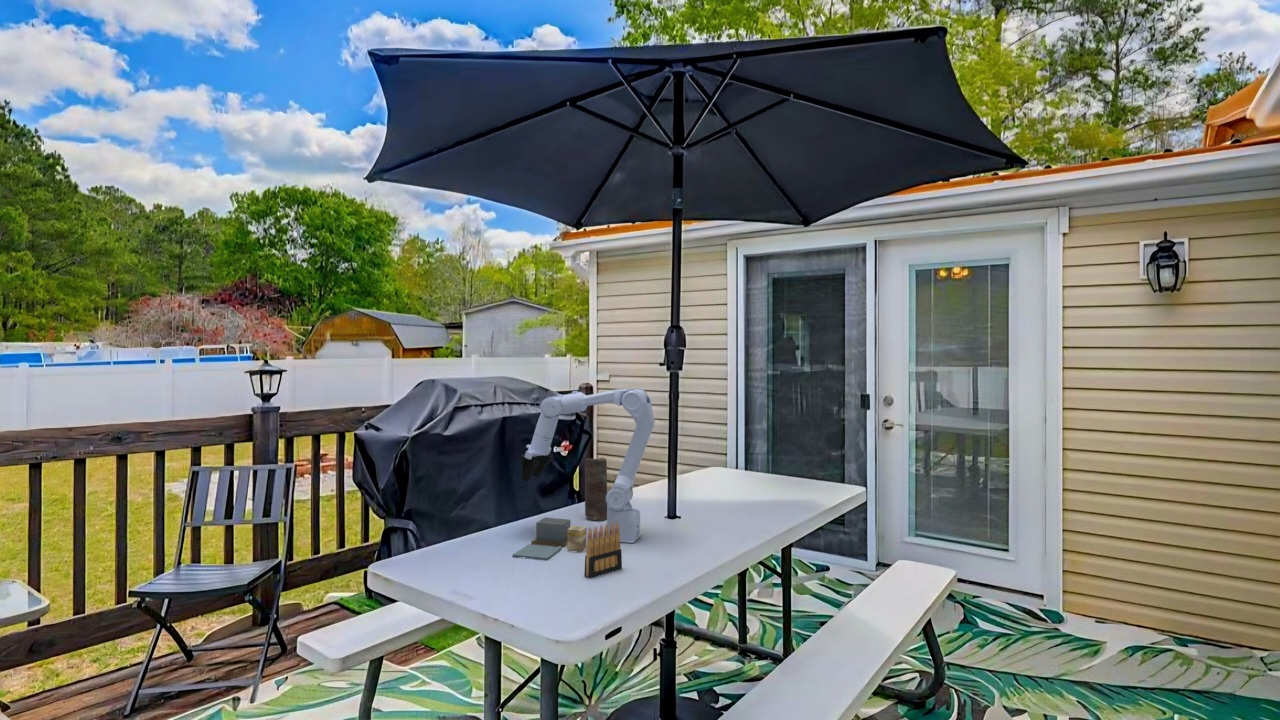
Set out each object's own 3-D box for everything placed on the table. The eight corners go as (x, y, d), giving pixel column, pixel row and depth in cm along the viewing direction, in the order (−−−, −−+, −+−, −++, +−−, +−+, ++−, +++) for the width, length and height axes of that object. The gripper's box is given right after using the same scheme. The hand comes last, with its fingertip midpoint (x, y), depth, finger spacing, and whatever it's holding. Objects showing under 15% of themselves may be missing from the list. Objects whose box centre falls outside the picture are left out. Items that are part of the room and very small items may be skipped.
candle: (580, 520, 218) (581, 458, 218) (589, 515, 225) (589, 455, 225) (603, 522, 216) (603, 459, 215) (610, 516, 223) (611, 456, 222)
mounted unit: (574, 539, 196) (574, 519, 196) (564, 547, 188) (564, 526, 188) (542, 536, 198) (542, 516, 198) (531, 544, 191) (531, 523, 190)
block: (586, 548, 187) (586, 526, 187) (581, 552, 183) (581, 530, 183) (572, 547, 188) (572, 525, 188) (567, 551, 184) (567, 529, 184)
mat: (561, 549, 186) (561, 547, 186) (547, 560, 176) (547, 558, 176) (528, 546, 189) (528, 544, 189) (512, 556, 179) (512, 554, 179)
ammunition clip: (588, 578, 163) (589, 529, 163) (584, 576, 164) (584, 527, 164) (622, 569, 170) (622, 521, 170) (617, 567, 171) (617, 520, 171)
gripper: (541, 428, 209) (528, 469, 210) (521, 433, 195) (507, 477, 196) (561, 436, 207) (548, 477, 208) (542, 441, 193) (529, 485, 194)
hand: (530, 478), depth 202 cm, fingers open, 7 cm apart
